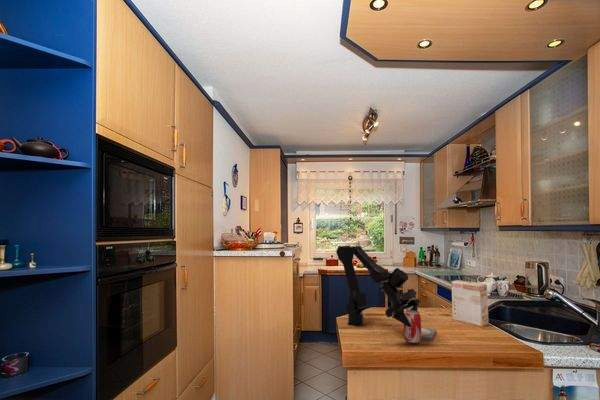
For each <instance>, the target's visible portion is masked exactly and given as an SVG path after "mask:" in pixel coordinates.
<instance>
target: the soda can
mask: <svg viewBox="0 0 600 400" xmlns="http://www.w3.org/2000/svg"><path fill="white" fill-rule="evenodd" d="M404 314H405V316H406V317H407V319H408V321H409V323H410V324H411V327H410V328H409V327H408V326H406V325H405V324H403V333H404V336H403V338H404V339H405V341H406V342H409V343H412V344H415V343H416V344H417V343H419V342H421V340H422V339H421V327H422V316H421V315H420V312H419V310H417V311H414V310H407V309H405V310H404Z"/></svg>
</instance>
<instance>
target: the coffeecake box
mask: <svg viewBox="0 0 600 400" xmlns="http://www.w3.org/2000/svg"><path fill="white" fill-rule="evenodd" d="M450 283H451V304H452V306H451V308H452V310H451V311H452V319H453V321H454V320H455V321H458V322H463V323H466V324H469V325H474V326H478V327H484V326H487V325H489V324H490V323H489V304H488V284H487V283H482V282H481V283H480V282H474V281H467V280H462V279H456V280H452V281H451V282H450Z"/></svg>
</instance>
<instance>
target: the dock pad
mask: <svg viewBox="0 0 600 400" xmlns="http://www.w3.org/2000/svg"><path fill="white" fill-rule="evenodd" d="M436 334H437V329H435V328H430V327H429V328H426V327H422V326H421V340H425V341H433V339H434V338H435V336H436ZM402 335H403V337H404V332H403V333H402Z"/></svg>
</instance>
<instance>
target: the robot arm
mask: <svg viewBox="0 0 600 400" xmlns="http://www.w3.org/2000/svg"><path fill="white" fill-rule="evenodd" d="M336 255H337V258H338V260H339V261H340V263H342V265H343V269H344V273H345V278H346V281H347V285H348V290H349V294H348V304H347V305H346V306H345V312H346V313H348V315H347V316H348V321H347V325H349V326H356V327H360V326H362V325H363V324H364V314H363V311H365V310H366V306H367V304H368V303H367V301H368V298H367V297H366V293H365V292H362V291H361V289H360V286H359V283H358V279H357V274H356V270H355V267H354V263H353V261H354V260H353V259H354V256H355V257H356V258H357V259H358V260H359V262H360V263H361V265H363V266H364V267H365V268H366V269H367V271H368V272H369V276H370V278H371V279H372V280H373V282H374V283H376V284H380V285H379V286H378V292H384V294H385V295H386V297H387V302H388V303H391V305H389V307H388V308H387V309H386V310H385V316H386V317H387V318H389V319H390V318H392V319H395V320H396V321H398V322H400V323H401V324H403V325H404V324H405V325H406V326H408V327H409V328H410V327H411V324H410V323H409V321H408V319H407V317H406V316H405V310H414V311H418V307H419V305H420V304H421V300H420V299H419V298H417V291H416V290H415V289H414V288H409V289H408V290H407V291H406V292H404V291H403V290H401V291H400V290H399V289H398V288H401V287H402V286H403V285H404V284H405V283H406V282H407V281H408V280H409V276H408V274H407V273H406V272H405V271H404V270H402V269H400V268H399V267H396V268H394V270H393V271H392V272H389V271H388V270H387V269H386V268H385V267H384V266H381V265H379V264H377V263H376V262H375V261H374V260H373V258H371V256H369V255H368V253H367V252H366V251H365V250H364V249H363V247H362V246H360V245H354V246H351V245H340V246H338V247H337V249H336ZM381 283H383V284H381Z"/></svg>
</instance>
